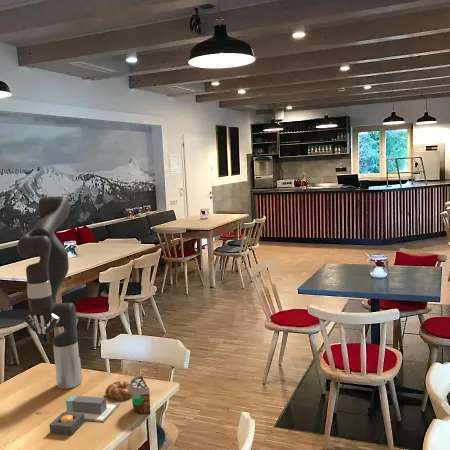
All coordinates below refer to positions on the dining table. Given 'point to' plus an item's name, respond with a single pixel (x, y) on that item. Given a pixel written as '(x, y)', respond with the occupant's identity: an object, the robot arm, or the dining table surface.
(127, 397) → the pretzel
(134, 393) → the food container
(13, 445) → the dining table surface
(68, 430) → the button housing
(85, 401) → the marker
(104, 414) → the drawing board
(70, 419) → the button
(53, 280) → the robot arm
